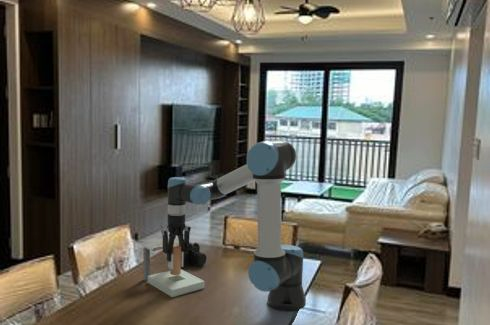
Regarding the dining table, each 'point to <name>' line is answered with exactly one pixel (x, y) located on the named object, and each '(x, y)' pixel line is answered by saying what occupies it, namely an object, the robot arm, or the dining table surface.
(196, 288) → the socket board
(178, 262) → the peg
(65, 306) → the dining table surface
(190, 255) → the camera
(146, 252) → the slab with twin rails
